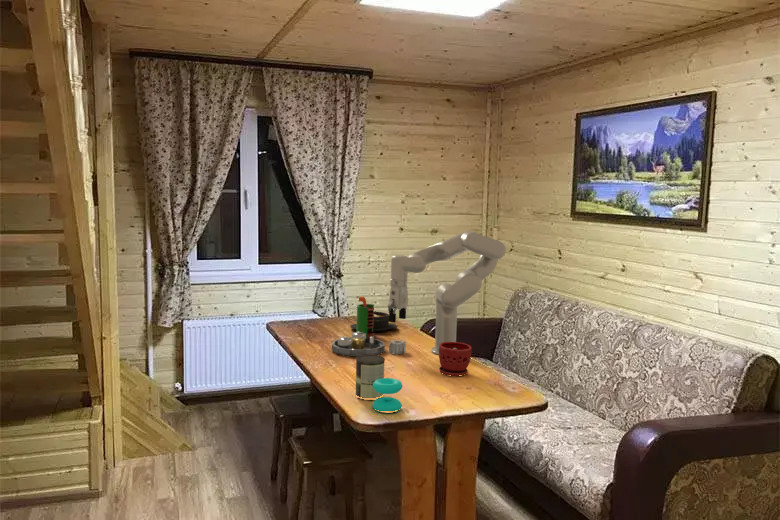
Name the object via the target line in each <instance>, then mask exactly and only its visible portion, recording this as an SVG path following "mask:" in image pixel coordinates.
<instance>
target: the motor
mask: <svg viewBox="0 0 780 520" xmlns="http://www.w3.org/2000/svg"><path fill="white" fill-rule="evenodd" d="M358 302H362V304H357V307H356V324H357V326H356V329H355V330H356V331H355V332H364V333H366V338H370V337H371V336H372V337H374V338H375V332H373V327H374V325H373V324H374V322H373V321H374V318H373V317H374V312H375V304H373V303H367V300H366V297H365V296H359V297H358Z"/></svg>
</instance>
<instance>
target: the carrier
mask: <svg viewBox="0 0 780 520" xmlns="http://www.w3.org/2000/svg"><path fill="white" fill-rule="evenodd" d="M385 343H386V342H385V341H382V340H381V339H378V338H375V336H374V337H372V336H371V337H370V338H366V333H364V332H356V331H354V332H352V333H351V337H349V336H339V337H337V339H336V340H335V339H334V340H333V341H332V343H331V351H332V353H334V354H335V353H336V355H338V354H339V355H338V356H341V355H344V356H343V357H347V356H350V358H357V357H358V356H362V355H378V354H380V355H382V354H384V353H383V352H385V351H386V347H385V346H386V345H385ZM384 350H385V351H384ZM381 353H382V354H381ZM378 356H379V355H378Z"/></svg>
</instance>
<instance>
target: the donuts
mask: <svg viewBox="0 0 780 520" xmlns="http://www.w3.org/2000/svg"><path fill="white" fill-rule="evenodd" d="M373 388H374V390H375V391H377V392H379V393H382V394H384V395H393V394H397V393H399V392H401V391H402V389H403V383H402V381H401V380H399V379H396V378H392V377H384V378H381V379H378V380H376V381H374V383H373ZM371 406H372V409H373V408H374V409H376V410H379V411H395V410H399V409H402V408H401V407H402V406H403V403H402V402H401V401H400V400H399V399H398V398H395V397H392V396H384V397H381V398H378V399H376V400H375V401H372V405H371ZM374 409H373V410H374Z"/></svg>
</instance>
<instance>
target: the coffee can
mask: <svg viewBox="0 0 780 520" xmlns="http://www.w3.org/2000/svg"><path fill="white" fill-rule="evenodd" d="M355 361H356V362H355V363H356V364H355V396H356V395H357V396H359V397H362V398H376V397H380V396H382V395H383V394H382V393H379V392H377V391H375V390H374V388H373V383H374V381H376V380H378V379H381V378H385V361H386V359H385V357H384V356H382V355H362V356H358V357H355Z"/></svg>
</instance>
